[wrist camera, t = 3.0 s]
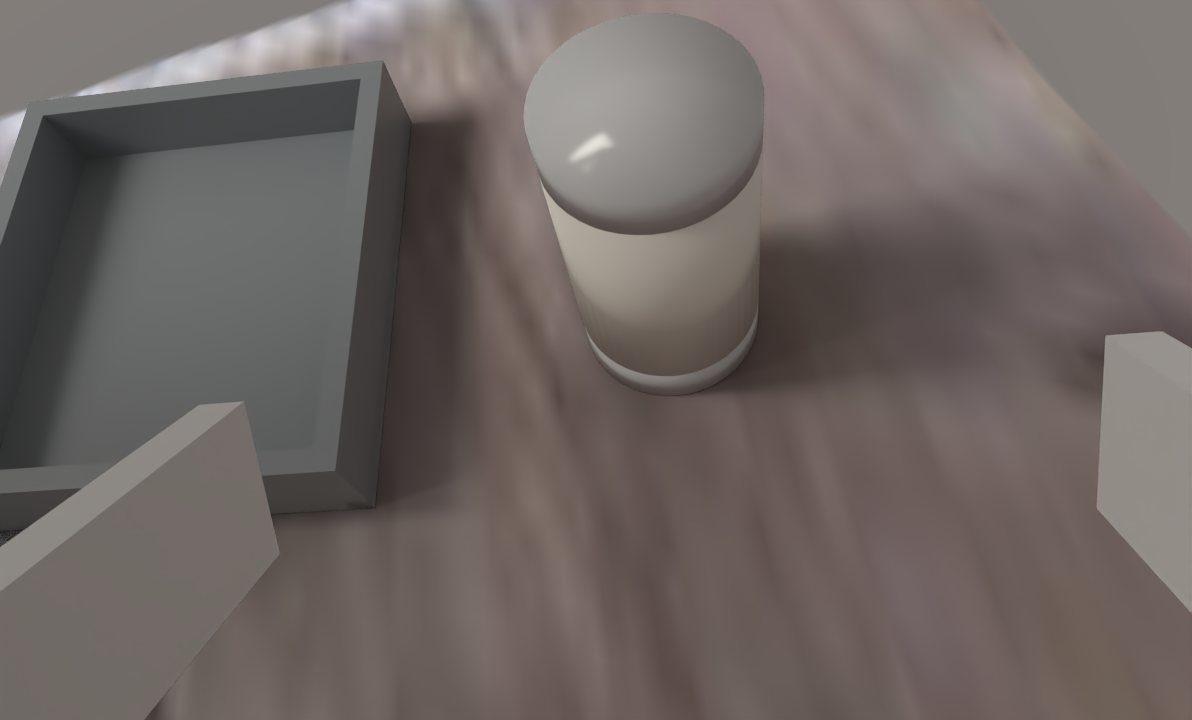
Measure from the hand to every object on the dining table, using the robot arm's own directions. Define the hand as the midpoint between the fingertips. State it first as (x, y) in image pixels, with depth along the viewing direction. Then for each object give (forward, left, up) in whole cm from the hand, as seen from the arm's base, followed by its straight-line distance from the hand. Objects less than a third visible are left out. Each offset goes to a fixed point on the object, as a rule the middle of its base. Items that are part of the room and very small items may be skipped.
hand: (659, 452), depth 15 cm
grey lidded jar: (0, +11, -15) cm, 19 cm away
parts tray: (-18, +13, -15) cm, 27 cm away
